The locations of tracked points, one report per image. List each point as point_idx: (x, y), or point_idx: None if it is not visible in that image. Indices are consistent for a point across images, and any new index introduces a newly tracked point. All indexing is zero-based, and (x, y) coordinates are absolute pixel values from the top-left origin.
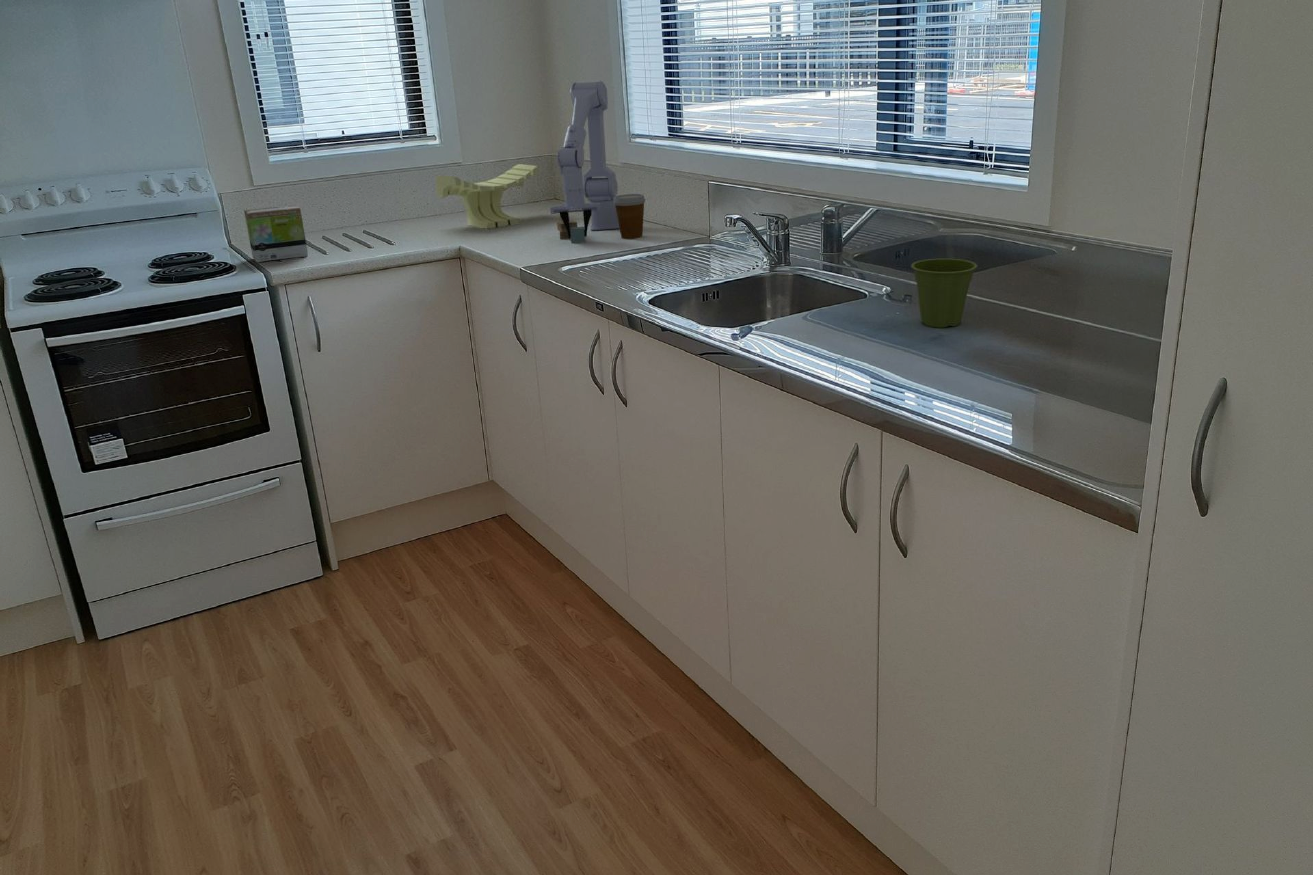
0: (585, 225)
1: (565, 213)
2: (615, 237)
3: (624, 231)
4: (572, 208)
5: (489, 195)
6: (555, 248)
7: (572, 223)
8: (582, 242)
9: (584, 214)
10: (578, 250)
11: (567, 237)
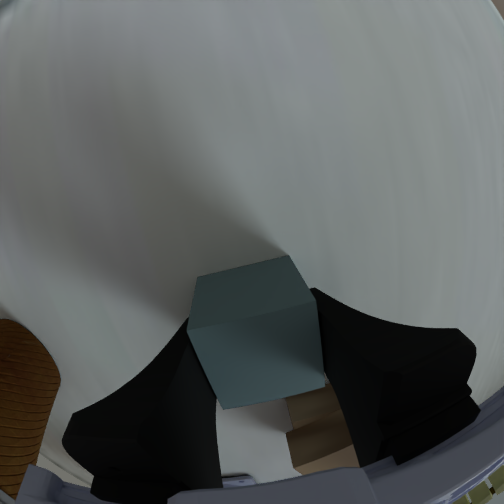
0: (170, 360)
1: (416, 431)
2: (84, 376)
3: (3, 343)
4: (350, 497)
5: (470, 494)
6: (361, 95)
7: (318, 454)
8: (215, 274)
9: (122, 427)
10: (179, 4)
11: (332, 387)
